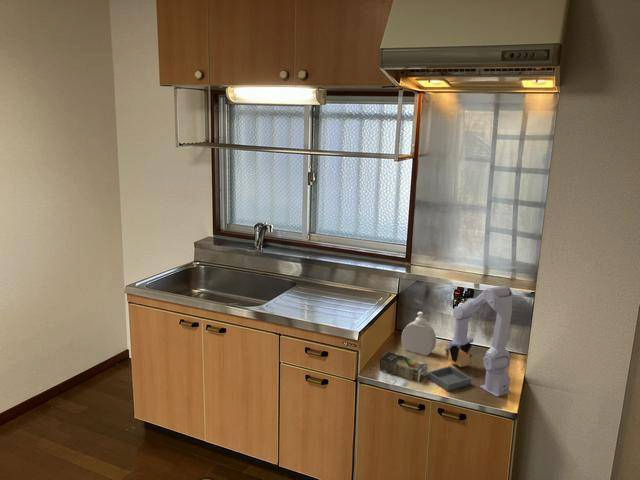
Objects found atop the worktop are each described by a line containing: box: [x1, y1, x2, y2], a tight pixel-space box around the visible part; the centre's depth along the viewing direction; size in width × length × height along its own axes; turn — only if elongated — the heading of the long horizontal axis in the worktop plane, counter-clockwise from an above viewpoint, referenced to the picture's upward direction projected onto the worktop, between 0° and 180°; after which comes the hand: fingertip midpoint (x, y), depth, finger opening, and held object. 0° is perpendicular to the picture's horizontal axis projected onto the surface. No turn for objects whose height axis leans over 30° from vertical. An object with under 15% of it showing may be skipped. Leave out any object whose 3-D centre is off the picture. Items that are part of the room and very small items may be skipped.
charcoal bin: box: [426, 365, 472, 393], centre depth 238 cm, size 13×13×3 cm
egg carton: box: [444, 345, 461, 358], centre depth 264 cm, size 11×8×4 cm
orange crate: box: [447, 350, 471, 368], centre depth 252 cm, size 8×5×5 cm, turn 30°
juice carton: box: [379, 352, 429, 383], centre depth 245 cm, size 20×10×6 cm, turn 57°
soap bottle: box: [400, 311, 437, 357], centre depth 265 cm, size 16×5×20 cm, turn 58°
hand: (458, 359), depth 252 cm, fingers closed on orange crate, 5 cm apart
